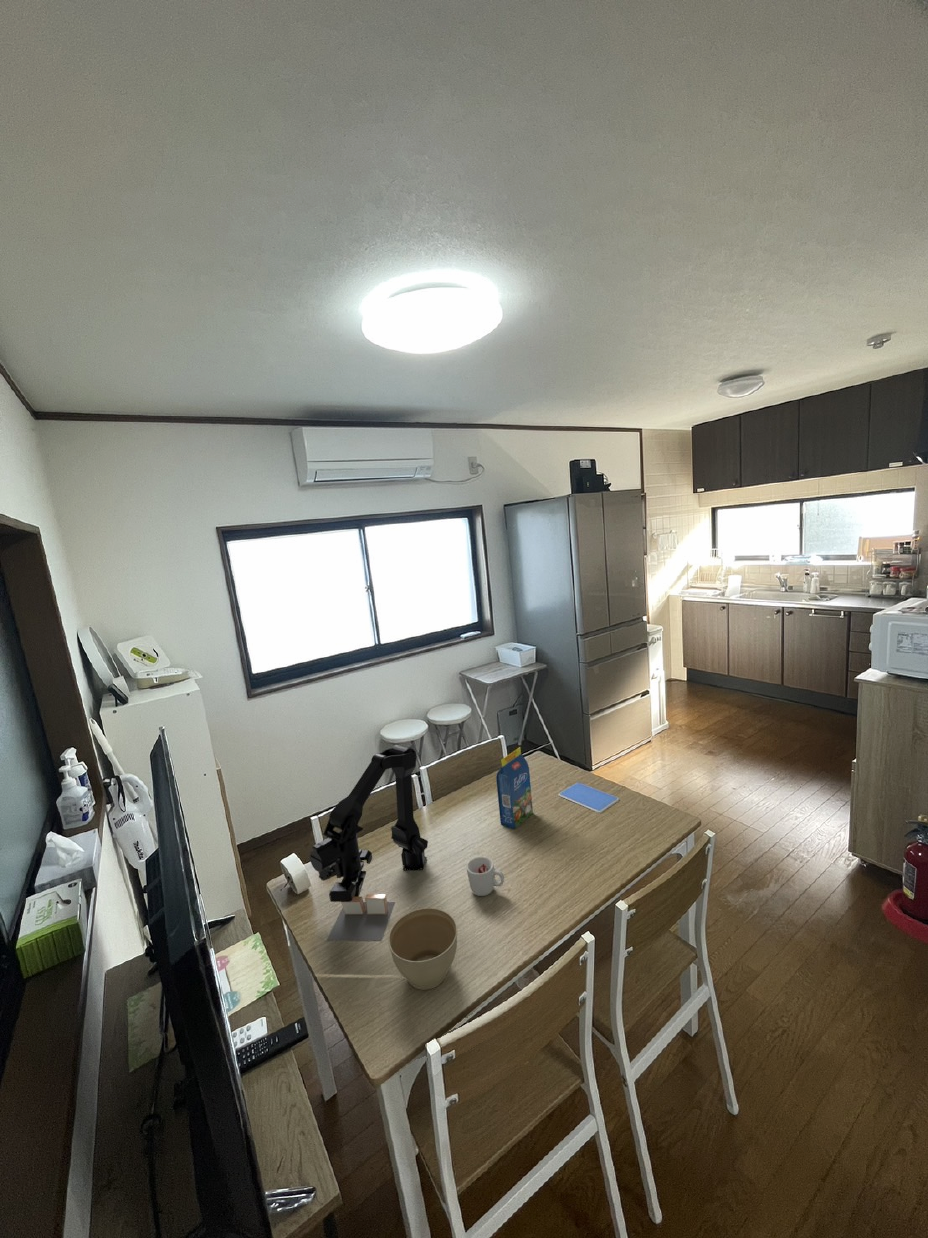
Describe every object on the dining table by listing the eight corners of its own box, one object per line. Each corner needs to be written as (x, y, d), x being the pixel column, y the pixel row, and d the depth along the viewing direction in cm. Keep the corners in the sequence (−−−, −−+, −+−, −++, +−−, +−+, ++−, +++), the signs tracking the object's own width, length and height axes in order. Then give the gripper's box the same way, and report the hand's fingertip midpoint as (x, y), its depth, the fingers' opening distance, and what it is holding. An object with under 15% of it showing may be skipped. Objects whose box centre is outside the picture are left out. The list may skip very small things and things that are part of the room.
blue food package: (533, 813, 183) (527, 748, 179) (515, 829, 174) (508, 761, 170) (518, 808, 187) (513, 745, 183) (500, 824, 178) (493, 758, 174)
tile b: (365, 909, 141) (361, 896, 139) (363, 915, 140) (360, 902, 138) (346, 909, 142) (343, 896, 140) (344, 915, 140) (341, 902, 139)
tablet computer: (620, 800, 186) (620, 797, 186) (599, 815, 178) (599, 811, 178) (577, 784, 201) (577, 781, 200) (557, 797, 193) (557, 794, 193)
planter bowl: (405, 1016, 109) (399, 973, 107) (386, 962, 124) (380, 923, 122) (472, 984, 115) (468, 942, 113) (446, 936, 130) (442, 899, 128)
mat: (395, 903, 144) (395, 902, 144) (381, 942, 130) (381, 940, 130) (345, 903, 146) (345, 902, 146) (326, 942, 132) (326, 940, 132)
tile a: (388, 910, 141) (385, 894, 140) (386, 914, 139) (384, 898, 138) (369, 910, 141) (366, 894, 141) (367, 914, 140) (364, 898, 139)
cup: (508, 884, 147) (506, 859, 146) (501, 903, 139) (499, 877, 138) (473, 879, 150) (471, 855, 149) (465, 897, 143) (462, 872, 142)
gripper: (333, 832, 150) (340, 879, 152) (306, 873, 132) (315, 926, 134) (369, 831, 149) (376, 879, 151) (347, 873, 130) (355, 927, 133)
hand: (355, 901), depth 142 cm, fingers closed
